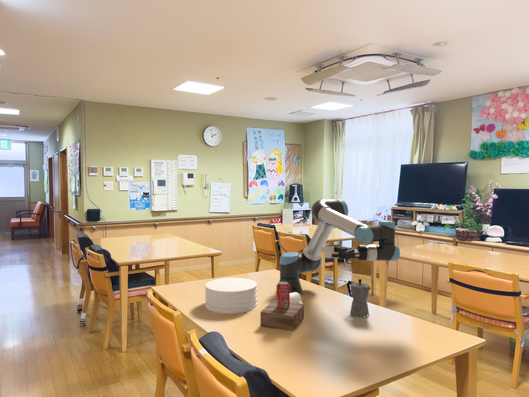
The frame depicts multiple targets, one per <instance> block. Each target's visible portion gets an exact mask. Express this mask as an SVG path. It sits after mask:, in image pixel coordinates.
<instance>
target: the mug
mask: <svg viewBox="0 0 529 397" xmlns="http://www.w3.org/2000/svg"><path fill="white" fill-rule="evenodd" d="M302 300H303V299H302V296H301V294H299V293H297V292H293V293H290V302H291V303H300V304H303V301H302Z"/></svg>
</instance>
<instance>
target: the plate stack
mask: <svg viewBox="0 0 529 397" xmlns="http://www.w3.org/2000/svg"><path fill="white" fill-rule="evenodd" d="M204 288H205V295H204V297H205V299H204V300H205V301H204V302H205V304H204V305H205V308H206V310H208V311H210V312H213V313H218V314H240V313H247V312H249V311H252V310H254V309H256V307H257V306H258V283H257V282H256V281H255V280H253V279H249V278H243V277H225V278H224V277H223V278H218V279H213V280H209V281H208V282H206V283H205V286H204Z"/></svg>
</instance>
